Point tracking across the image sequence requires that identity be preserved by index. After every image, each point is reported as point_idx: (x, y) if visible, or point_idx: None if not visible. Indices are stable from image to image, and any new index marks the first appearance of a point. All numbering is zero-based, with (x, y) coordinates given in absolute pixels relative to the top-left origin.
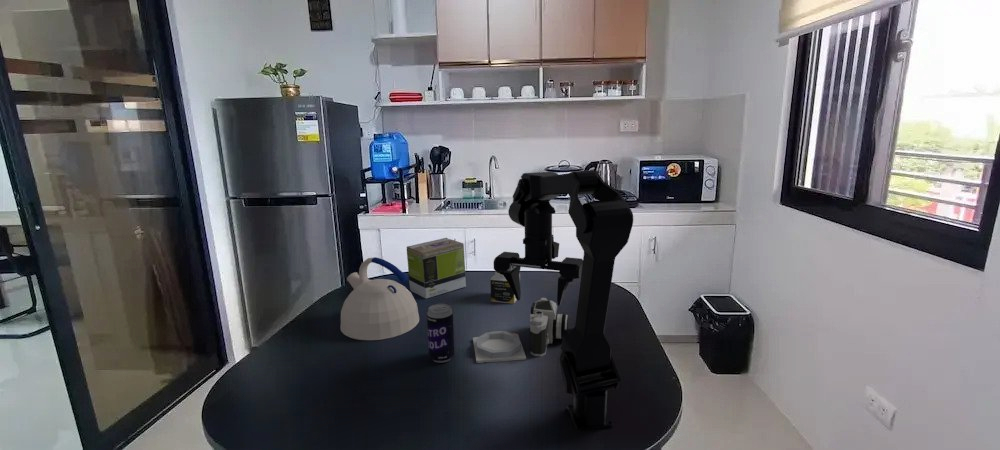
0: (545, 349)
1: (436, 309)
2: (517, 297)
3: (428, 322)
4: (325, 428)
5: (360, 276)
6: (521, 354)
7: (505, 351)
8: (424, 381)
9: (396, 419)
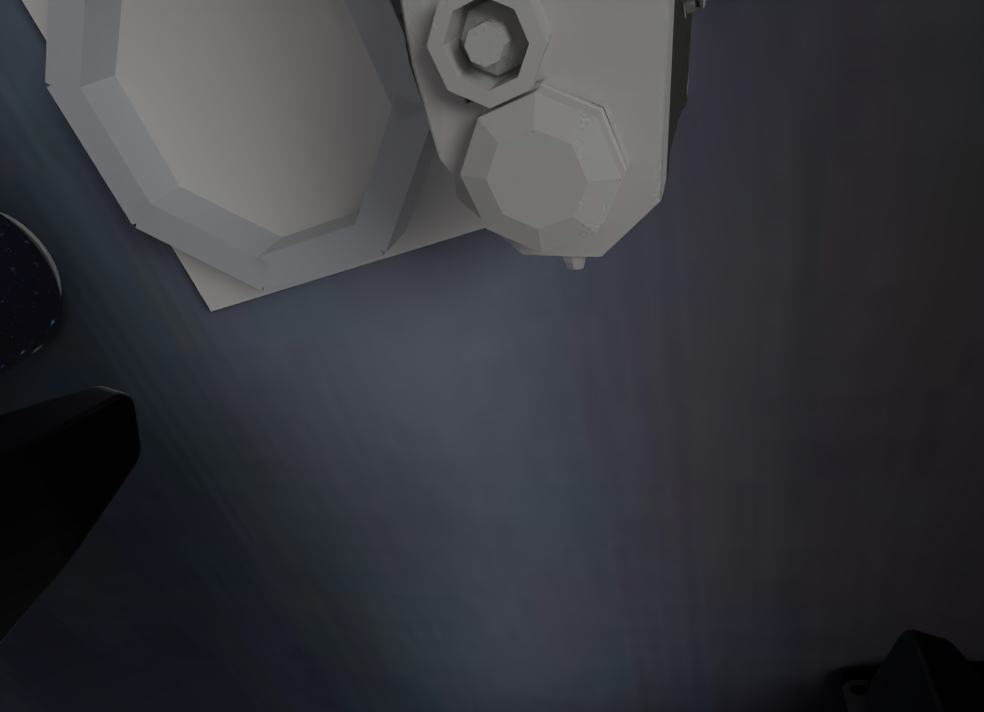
0: (685, 78)
1: None
2: (89, 512)
3: None
4: (15, 686)
5: None
6: None
7: (351, 263)
8: None
9: (162, 670)
